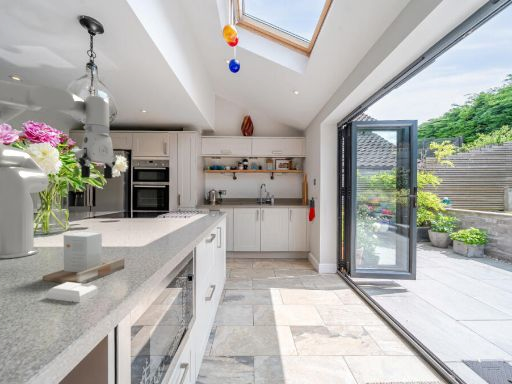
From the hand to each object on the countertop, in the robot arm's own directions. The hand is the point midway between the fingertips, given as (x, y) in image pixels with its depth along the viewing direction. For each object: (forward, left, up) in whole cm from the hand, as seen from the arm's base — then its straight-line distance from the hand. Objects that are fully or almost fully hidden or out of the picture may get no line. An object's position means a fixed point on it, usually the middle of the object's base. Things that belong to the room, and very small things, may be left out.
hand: (97, 177), depth 97 cm
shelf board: (+16, -18, -28) cm, 37 cm away
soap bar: (+26, -31, -29) cm, 50 cm away
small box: (+14, -18, -28) cm, 36 cm away
